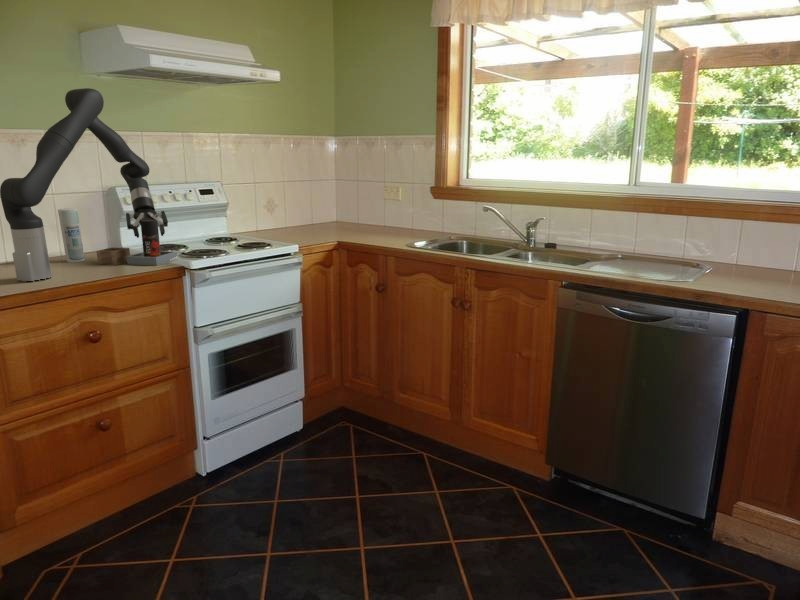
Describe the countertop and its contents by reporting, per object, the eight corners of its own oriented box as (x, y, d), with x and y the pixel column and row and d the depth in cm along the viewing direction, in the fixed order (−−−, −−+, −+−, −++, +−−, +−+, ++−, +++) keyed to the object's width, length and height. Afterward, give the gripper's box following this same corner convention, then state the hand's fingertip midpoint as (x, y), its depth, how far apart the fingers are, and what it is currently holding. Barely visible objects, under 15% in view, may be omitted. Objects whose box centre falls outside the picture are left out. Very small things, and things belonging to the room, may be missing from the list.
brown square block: (116, 264, 219) (114, 251, 218) (98, 264, 221) (96, 250, 220) (130, 260, 226) (129, 247, 225) (113, 260, 228) (111, 247, 227)
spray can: (81, 258, 233) (73, 207, 228) (88, 260, 229) (80, 208, 223) (63, 261, 228) (54, 209, 223) (70, 263, 224) (61, 210, 219)
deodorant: (143, 261, 220) (139, 221, 217) (145, 258, 226) (141, 219, 222) (160, 260, 222) (156, 221, 218) (161, 258, 228) (158, 219, 224)
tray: (156, 265, 216) (155, 257, 216) (127, 264, 220) (126, 256, 219) (177, 259, 228) (176, 251, 227) (149, 258, 231) (148, 250, 231)
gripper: (122, 196, 221) (129, 230, 214) (162, 194, 227) (170, 227, 221) (122, 209, 226) (129, 243, 220) (161, 207, 233) (170, 239, 227)
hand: (150, 235), depth 220 cm, fingers open, 8 cm apart
